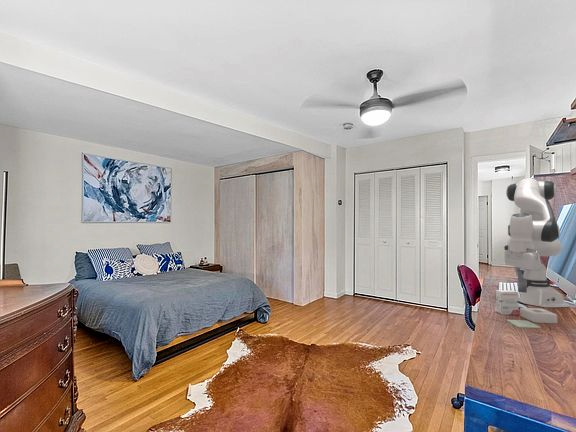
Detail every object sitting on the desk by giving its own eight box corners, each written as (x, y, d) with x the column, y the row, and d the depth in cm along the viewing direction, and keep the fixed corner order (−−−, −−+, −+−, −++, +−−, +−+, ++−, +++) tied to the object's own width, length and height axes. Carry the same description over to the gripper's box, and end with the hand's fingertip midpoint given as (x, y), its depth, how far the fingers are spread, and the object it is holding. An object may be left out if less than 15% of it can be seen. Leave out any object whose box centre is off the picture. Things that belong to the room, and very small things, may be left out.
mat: (527, 321, 138) (527, 320, 138) (540, 328, 130) (540, 327, 130) (506, 321, 140) (506, 319, 140) (518, 327, 131) (518, 326, 131)
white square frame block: (541, 316, 146) (541, 308, 146) (557, 323, 136) (557, 314, 136) (520, 315, 147) (519, 307, 148) (533, 322, 138) (533, 313, 138)
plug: (523, 291, 136) (523, 269, 136) (528, 292, 133) (528, 270, 133) (516, 290, 137) (516, 269, 137) (520, 292, 133) (520, 270, 134)
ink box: (513, 312, 153) (512, 289, 153) (519, 315, 148) (519, 292, 149) (495, 311, 154) (495, 289, 154) (501, 314, 149) (501, 291, 149)
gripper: (545, 249, 125) (546, 282, 124) (515, 246, 145) (515, 274, 145) (529, 249, 126) (529, 281, 125) (501, 246, 146) (502, 273, 145)
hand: (522, 277), depth 135 cm, fingers closed on plug, 3 cm apart
